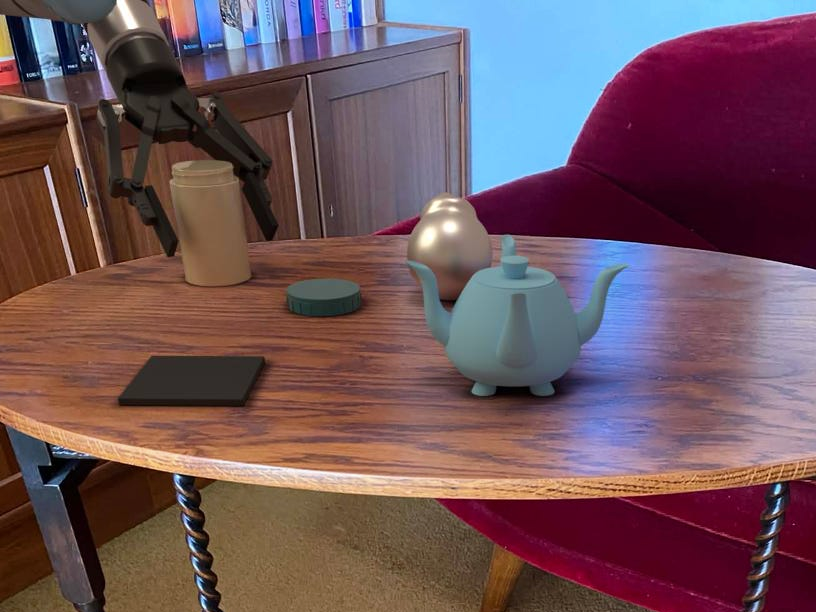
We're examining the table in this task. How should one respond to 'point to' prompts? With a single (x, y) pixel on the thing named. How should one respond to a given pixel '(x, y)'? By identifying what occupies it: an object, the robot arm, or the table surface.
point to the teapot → (513, 323)
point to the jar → (210, 223)
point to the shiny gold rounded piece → (449, 244)
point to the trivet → (194, 381)
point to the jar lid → (323, 297)
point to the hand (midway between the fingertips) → (224, 241)
